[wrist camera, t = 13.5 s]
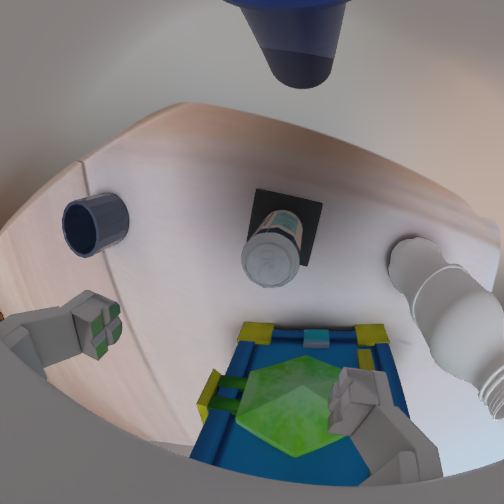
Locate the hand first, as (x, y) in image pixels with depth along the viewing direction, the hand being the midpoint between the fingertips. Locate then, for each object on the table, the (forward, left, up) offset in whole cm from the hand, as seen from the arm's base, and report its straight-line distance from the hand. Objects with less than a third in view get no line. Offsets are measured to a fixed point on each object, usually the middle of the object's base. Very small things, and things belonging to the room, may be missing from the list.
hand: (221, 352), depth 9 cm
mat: (+2, 0, -26) cm, 25 cm away
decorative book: (+19, +9, -26) cm, 33 cm away
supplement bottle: (+2, 0, -25) cm, 25 cm away
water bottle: (+2, +17, -26) cm, 31 cm away
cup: (+6, -26, -26) cm, 37 cm away
